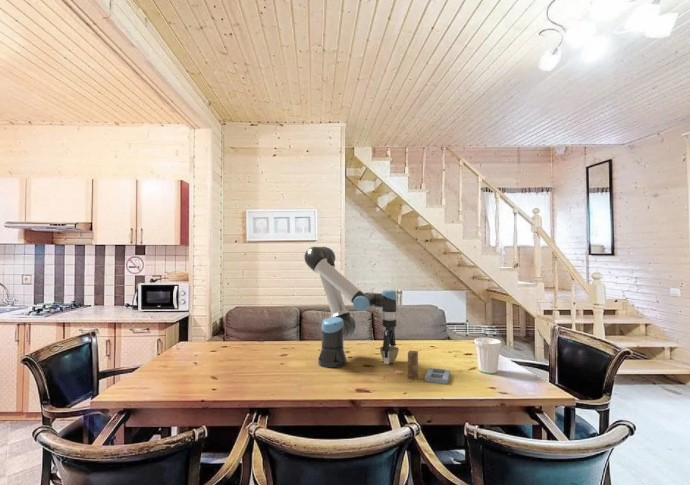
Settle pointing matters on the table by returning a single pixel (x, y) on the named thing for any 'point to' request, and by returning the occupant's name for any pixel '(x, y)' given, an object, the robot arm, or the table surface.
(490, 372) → the cup
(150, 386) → the table surface
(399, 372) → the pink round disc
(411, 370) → the peg
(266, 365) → the table surface
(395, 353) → the flower pot
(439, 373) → the grey window frame
